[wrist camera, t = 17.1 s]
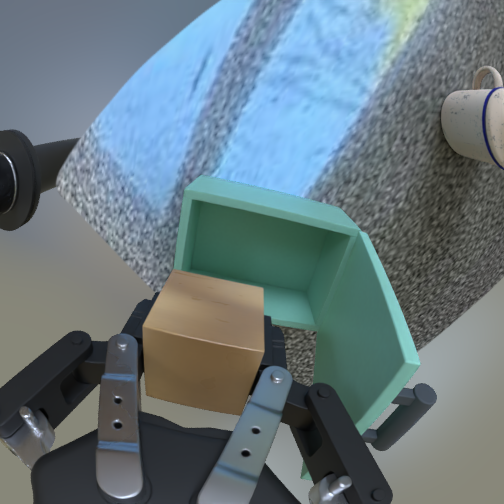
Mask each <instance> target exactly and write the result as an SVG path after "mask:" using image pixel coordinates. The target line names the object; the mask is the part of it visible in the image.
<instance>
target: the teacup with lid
mask: <svg viewBox="0 0 504 504" xmlns="http://www.w3.org/2000/svg"><path fill="white" fill-rule="evenodd" d="M489 73H492V75H493V78H494V87H495V88H494V89H484V90H481V82H482V79H483V78H484V77H485V76H486V75H487V74H489ZM472 88H473V90H462V91H455V92H452V93H451V94H450V95H448V97H447V98H446V99H445V101H444V103H443V106H442V110H441V124H442V129H443V133H444V136H445V138H446V140H447V142H448V144H449V145H450V146H451V148H452V149H453V150H454V151H455V152H457V153H458V154H460V155H462V156H465V157H469V158H473V159H476V160H480V161H483V162H487V163H490V164H494V165H497V166H499V167H500V168H501V169H503V170H504V87H503V83H502V79H501V76H500V74H499V72H498V71H497V70H496V69H494V68H493V67H490V66H483V67H481V68H480V69H478V70H477V72H476V73H475V75H474V78H473V87H472Z"/></svg>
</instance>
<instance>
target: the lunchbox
mask: <svg viewBox="0 0 504 504" xmlns="http://www.w3.org/2000/svg"><path fill="white" fill-rule="evenodd" d="M359 231H361V230H360V228H359V227H358V226H357V225H356V224H355V223H354V222H353V221H352V220H351V219H350V218H349V217H348V216H347V215H346V214H345V213H344V212H343V211H342V209H341V208H339V207H336V206H332V205H328V204H325V203H321V202H317V201H314V200H310V199H306V198H302V197H298V196H294V195H290V194H286V193H282V192H278V191H274V190H270V189H265V188H261V187H257V186H252V185H248V184H243V183H239V182H234V181H230V180H225V179H220V178H215V177H210V176H205V175H200V176H199V177H198V178H197V179H195V180H194V181H193V182H192V183H191V184H190V185H188V186H187V187H186V188H185V189H184V195H183V201H182V207H181V214H180V221H179V228H178V235H177V243H176V251H175V259H174V268H173V269H177V270H181V271H186V272H190V273H195V274H200V275H204V276H209V277H214V278H218V279H223V280H228V281H233V282H238V283H242V284H247V285H252V286H257V287H262V288H263V289H264V315H267V316H271V321H272V324H274V325H280V326H286V327H292V328H298V329H305V330H311V331H318V330H319V328H320V326H321V324H322V322H323V319H324V317H325V315H326V313H327V310H328V308H329V306H330V303H331V301H332V299H333V296H334V294H335V292H336V289H337V287H338V285H339V282H340V280H341V277H342V275H343V272H344V270H345V267H346V265H347V262H348V260H349V257H350V254H351V252H352V249H353V246H354V244H355V241H356V238H357V236H358V233H359Z"/></svg>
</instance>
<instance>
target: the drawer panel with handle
mask: <svg viewBox="0 0 504 504" xmlns="http://www.w3.org/2000/svg"><path fill="white" fill-rule="evenodd" d="M419 366H420V360H419V357H418V354H417V351H416V348H415V346H414V343H413V340H412V337H411V334H410V332H409V329H408V326H407V324H406V321H405V318H404V316H403V313H402V311H401V308H400V306H399V303H398V301H397V298H396V296H395V294H394V291H393V289H392V287H391V284H390V282H389V280H388V277H387V275H386V273H385V271H384V268H383V266H382V264H381V262H380V260H379V257H378V255H377V253H376V251H375V249H374V247H373V245H372V243H371V241H370V239H369V237H368V235H367V233H364V232H361V231H359V233H358V236H357V238H356V241H355V244H354V246H353V249H352V252H351V254H350V257H349V260H348V262H347V265H346V267H345V270H344V272H343V275H342V277H341V280H340V282H339V285H338V287H337V289H336V292H335V294H334V296H333V299H332V301H331V303H330V306H329V308H328V310H327V313H326V315H325V317H324V319H323V322H322V324H321V326H320V328H319V330H318V332H317V340H316V354H315V366H314V378H313V384H315V383H325V384H328V385H330V386H331V387H333V388H334V390H335V391H336V393H337V394H338V396H339V398H340V400H341V401H342V403H343V405H344V407H345V408H346V410H347V412H348V414H349V415H350V417H351V419H352V421H353V422H354V424H355V426H356V428H357V430H358V431H359V433H360V435H361V437H362V438H363V440H364V442H367V443H371V445H372V446H373V447H374V448H375V449H376V450H379V451H385V450H387V449H389V448H390V447H391V446H392V445H393V444H394V443H395V442H397V441H398V440H399V439H400V438H401V437H402V436H403V435H404V434H405V433H406V432H407V431H408V430H409V429H410V428H411V427H412V426H413V425H414V424H415V423H416V422H417V421H418V420H419V419H420V418H421V417H422V416H423V415H424V414H425V413H426V412H427V411H428V410H429V409H430V408H431V407H432V406H433V404H434V403H435V402H436V399H437V395H436V393H435V391H434V390H433V389H432V388H431V387H430V386H429V385H427V384H423V383H421V384H417V385H416V386H415V387H414V388H413V389H409V388H404V386H405V385H406V384H407V382H408V381H409V380H410V379H411V377H412V376H413V375H414V373H415V372H416V371H417V369H418V368H419ZM390 403H393V404H399V406H398V407H397V408H396V409H395V411H394V412H393V413H392V414H391V415H390V416H389V417H388V418H387V419H386V420H385V421H384V423H383V424H382V425H381V426H380V427H379V428H378V429H377V430H374V429H368V428H369V427H370V426H371V425H372V423H374V421H375V420H376V419H377V418H378V417H379V416H380V415H381V414H382V413H383V411H384V410H385V409H386V408H387V407H388V406H389V405H390ZM301 479H306V480H312V478H311V476H310V474H309V471H308V469H307V467H306V464H305V462H304V460H303V466H302V473H301Z"/></svg>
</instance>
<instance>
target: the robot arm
mask: <svg viewBox="0 0 504 504" xmlns="http://www.w3.org/2000/svg"><path fill="white" fill-rule="evenodd" d="M18 192H19V178H18V173H17V169H16V166H15V163H14V161H13V160H12V158H11V157H10V155H8V154H7V153H6V152H3V151H0V215H1V214H4V213H6V212H8V211H10V210H11V209H12V208H13V207H14V205H15V204H16V201H17V198H18ZM159 294H160V293H159V292H156V293H155V295H154V297H153V298H152V300H147V299H144V300H143V301H141V302H140V303H138V304H137V306H136V308H135V310H134V311H133V313H132V314H131V316H130V318H129V319H128V321H127V323H126V324H125V326H124V328H123V330H122V332H121V333H120V334H117V335H114V336H112V337H111V338H110V339H109V341H102V342H101V341H91V337H90V336H89V334H87V333H86V332H83V331H72V332H70V333H68V334H67V335H66V336H64V337H63V338H62V339H60V340H59V341H58V342H56V343H55V344H54V345H53V346H51V347H50V348H49V349H48V350H46V351H45V352H44V353H43V354H41V355H40V356H39V357H38V358H36V359H35V360H34V361H33V362H32V363H30V364H29V365H28V366H26V367H25V368H24V369H23V370H22V371H20V372H19V373H18V374H17V375H15V376H14V377H13V378H12V379H11V380H9V381H8V382H7V383H6V384H5V385H4V386H2V387H1V388H0V441H1V443H2V444H3V445H4V446H6V447H7V448H8V449H9V450H10V451H11V452H12V453H13V454H14V455H16V456H17V457H19V458H20V459H21V460H22V461H23V462H24V463H25V465H27V467H28V468H30V470H31V484H32V489H33V499H34V502H33V504H301V503H300V502H299V501H298V500H297V499H296V498H295V497H294V495H293V494H292V493H291V492H290V491H289V490H288V489H287V488H286V487H285V486H284V484H283V483H282V482H281V481H280V480H279V479H278V478H277V476H276V475H275V474H274V473H273V472H272V471H271V469H270V468H269V467H268V466H267V465H266V463H265V461H266V458H267V456H268V453H269V451H270V448H271V445H272V443H273V440H274V438H275V435H276V432H277V429H278V427H279V424H280V422H282V423H285V424H288V425H289V426H290V429H291V431H292V434H293V436H294V438H295V441H296V443H297V446H298V448H299V450H300V452H301V455H302V457H303V460H304V462H305V464H306V467H307V469H308V471H309V474H310V476H311V478H312V481H313V483H314V486H313V487H312V488H311V489H310V491H309V501H310V504H390V503H391V501H392V497H393V494H392V490H391V488H390V486H389V485H388V483H387V481H386V479H385V478H384V476H383V474H382V472H381V471H380V469H379V467H378V465H377V463H376V462H375V460H374V458H373V456H372V454H371V453H370V451H369V449H368V447H367V446H366V444H365V442H364V440H363V438H362V437H361V435H360V433H359V431H358V430H357V428H356V426H355V424H354V422H353V421H352V419H351V417H350V415H349V414H348V412H347V410H346V408H345V407H344V405H343V403H342V401H341V400H340V398H339V396H338V394H337V393H336V391H335V390H334V388H333V387H331V386H330V385H328V384H325V383H315V384H313V385H311V386H310V387H308V386H305V385H303V384H300V383H298V382H296V381H294V380H293V379H292V376H291V374H290V373H289V372H288V371H287V363H286V353H285V343H284V334H283V333H282V331H281V329H280V328H279V327H274V326H272V321H271V316H267V315H264V345H265V352H264V355H263V358H262V361H261V363H260V366H259V369H258V372H257V375H256V377H255V380H254V383H253V385H252V388H251V391H250V393H249V395H252V396H251V398H250V400H249V401H248V403H247V405H246V407H245V409H244V411H243V413H242V415H241V417H240V419H239V421H238V423H237V425H236V427H235V429H234V431H228V430H221V429H215V428H184V427H181V426H179V425H177V424H175V423H173V422H171V421H169V420H167V419H164V418H163V417H160V416H156V415H152V414H149V413H145V412H142V411H141V388H140V379H141V376H142V373H143V372H144V358H143V327H142V326H143V324H144V322H145V320H146V318H147V316H148V314H149V312H150V310H151V309H152V307H153V305H154V303H155V301H156V299H157V297H158V296H159ZM98 384H100V396H99V413H98V428H97V429H96V430H94V431H92V432H90V433H88V434H86V435H84V436H82V437H80V438H78V439H76V440H74V441H72V442H70V443H68V444H66V445H64V446H61V447H59V448H57V449H55V450H53V451H51V452H50V448H51V447H52V444H53V443H54V440H55V432H54V429H55V428H56V427H57V426H58V425H59V424H60V423H61V422H62V421H63V420H64V419H65V418H66V417H67V416H68V415H69V414H70V413H71V412H72V411H73V409H75V408H76V407H77V406H78V404H79V403H80V402H81V401H82V400H83V399H84V398H85V397H86V396H87V395H88V394H89V393H90V392H91V391H92V390H93V389H94V388H95V387H96V386H97V385H98Z"/></svg>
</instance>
